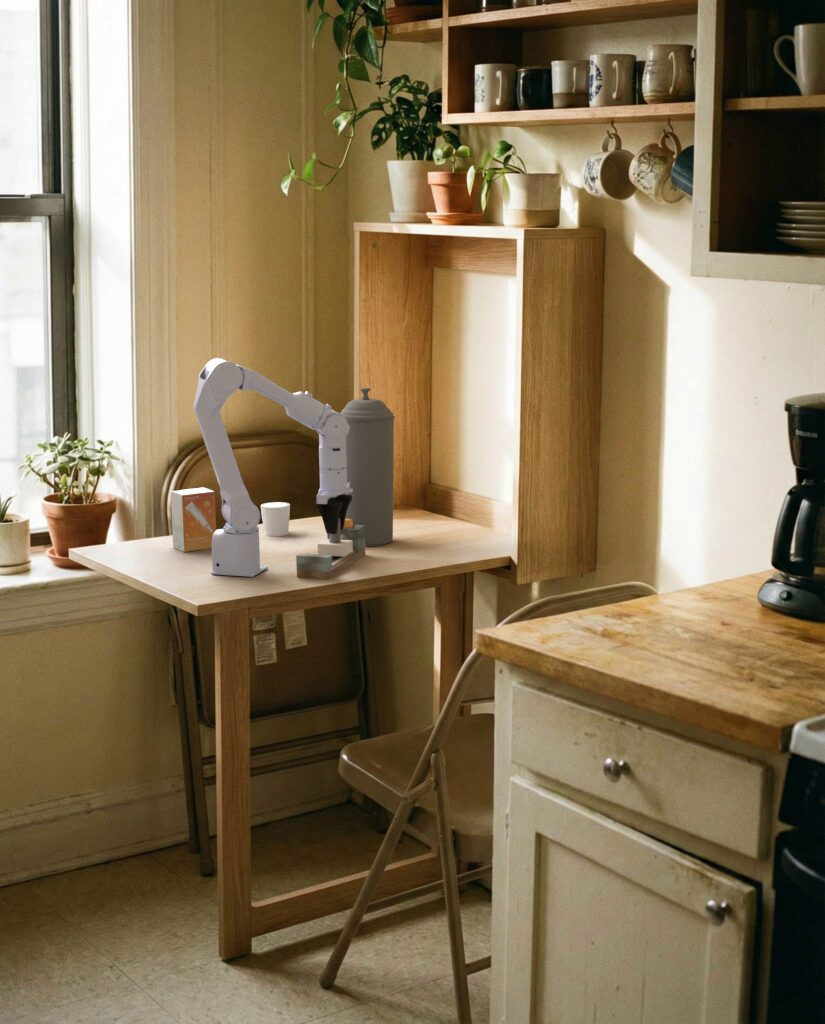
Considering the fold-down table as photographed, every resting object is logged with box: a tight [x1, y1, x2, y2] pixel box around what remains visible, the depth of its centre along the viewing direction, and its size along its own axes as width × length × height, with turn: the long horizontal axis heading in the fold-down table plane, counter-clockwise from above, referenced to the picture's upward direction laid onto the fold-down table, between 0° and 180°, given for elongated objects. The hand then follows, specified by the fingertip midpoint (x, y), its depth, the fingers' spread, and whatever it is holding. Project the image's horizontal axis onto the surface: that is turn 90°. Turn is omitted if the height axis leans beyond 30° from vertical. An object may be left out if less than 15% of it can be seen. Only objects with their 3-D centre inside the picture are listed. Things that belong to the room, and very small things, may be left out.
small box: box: [170, 486, 217, 553], centre depth 302 cm, size 8×6×13 cm
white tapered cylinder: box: [260, 501, 291, 537], centre depth 316 cm, size 7×7×7 cm
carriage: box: [317, 518, 353, 557], centre depth 286 cm, size 6×5×7 cm
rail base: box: [295, 525, 367, 580], centre depth 285 cm, size 7×22×6 cm, turn 162°
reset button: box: [344, 519, 353, 529], centre depth 292 cm, size 3×3×3 cm
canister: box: [340, 387, 395, 547], centre depth 303 cm, size 13×13×35 cm
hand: (334, 531), depth 286 cm, fingers open, 3 cm apart
